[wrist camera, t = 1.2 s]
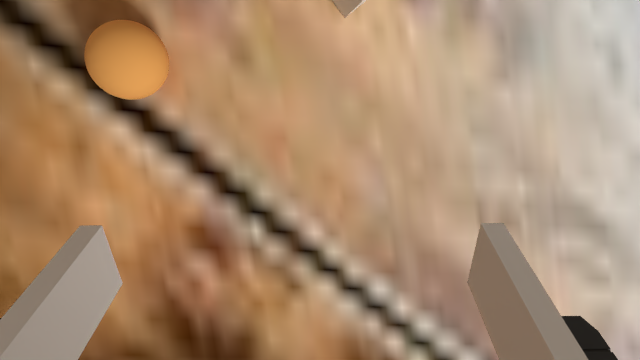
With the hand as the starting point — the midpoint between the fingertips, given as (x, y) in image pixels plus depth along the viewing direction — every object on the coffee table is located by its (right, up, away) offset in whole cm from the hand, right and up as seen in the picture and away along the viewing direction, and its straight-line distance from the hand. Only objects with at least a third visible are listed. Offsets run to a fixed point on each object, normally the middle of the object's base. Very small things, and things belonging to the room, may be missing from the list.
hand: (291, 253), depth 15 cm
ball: (-13, +11, +15) cm, 23 cm away
